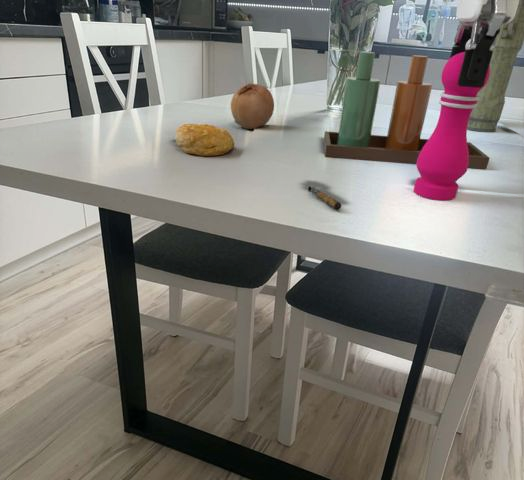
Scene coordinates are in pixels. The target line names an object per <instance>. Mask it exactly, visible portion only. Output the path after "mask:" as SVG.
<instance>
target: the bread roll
mask: <svg viewBox="0 0 524 480" xmlns="http://www.w3.org/2000/svg"><path fill="white" fill-rule="evenodd" d="M174 140H175V141H176V143H177V145H178V146H179V147H180V149H181V150H182V151H184V153H185V154H190V155H195V156H203V157H211V156H212V157H213V156H222V155H225V154H227V153H229V152H230V151H232V149H234V147H235V140H234V138H233V137H232V134H231V133H230V132H229V131H228V130H227V129H224V128H220V127H218V126H215V125H212V124H208V123H203V124H198V123H197V124H196V123H184V124H182V125H180V126H179V127H178V128H177V129H176V130H175V135H174Z"/></svg>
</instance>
